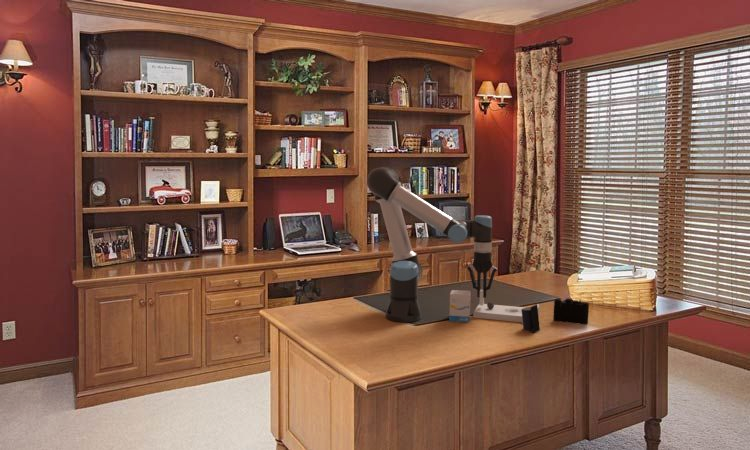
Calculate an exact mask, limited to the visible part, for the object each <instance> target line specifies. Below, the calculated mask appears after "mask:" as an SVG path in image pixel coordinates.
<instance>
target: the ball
mask: <svg viewBox="0 0 750 450" xmlns="http://www.w3.org/2000/svg"><path fill="white" fill-rule="evenodd" d="M486 304H487V307H488V308H489V309H492V308H493V307H494V305H495V303H494V302H493V301H489V302H487V303H486Z"/></svg>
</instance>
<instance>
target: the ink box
mask: <svg viewBox="0 0 750 450" xmlns="http://www.w3.org/2000/svg"><path fill="white" fill-rule="evenodd" d="M471 293H472V291H471V290H463V289H462V290H461V289H456V290H455V289H451V290H450V293H449V314H448V319H449V320H448V321H449V322H458V323H470V317H471V301H472V299H471V296H472V295H471Z"/></svg>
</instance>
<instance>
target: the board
mask: <svg viewBox="0 0 750 450" xmlns="http://www.w3.org/2000/svg"><path fill="white" fill-rule="evenodd" d="M487 304H488V303H484V305H483V306H481V305H480V303H478V305H477V306H476V308H475V309H474V310H473V316H472V317H473V318H474V319H483V320H484V319H486V320H493V321H494V320H497V321H507V322H516V323H523V320H522V310H521V309H523V308H526V307H525V306H524V307H523V306H515V305H514V306H513V305H512V306H511V305H500V304H494V307H493V308H492V309H489V308H488V307H487ZM536 305H537V308H538V317H539V316H540V306H541V305H540V304H539V303H537V304H536Z"/></svg>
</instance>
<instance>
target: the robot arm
mask: <svg viewBox="0 0 750 450" xmlns="http://www.w3.org/2000/svg"><path fill="white" fill-rule="evenodd" d="M366 186H367V188H368V190H369V191H370V192H371V193H372V194H373V195H374V200H375V202H376V203H378V204H379V205H380V209H381V213H382V216H383V220H384V221H383V222H384V225H385V227H386V228H385V229H386V231H387V235H388V239H389V243H390V247H391V250H392V254H393V256H392V258H391V265H390V269H389V276H390V277H389V302H388V304H387V308H386V310H385V319H387V320H388V321H392V322H398V323H412V322H418V321H420V320H421V319H422V311H421V307H420V304H419V300H418V294H419V293H418V288H419V287H418V286H419V285H418V284H419V283H420V280H421V279H422V277H423V271H424V270H423V267H422V266H423V265H421V263H420V262H419V257H418V253H417V252H415V251H413V248H412V245H411V239H410V237H409V233H408V229H407V226H406V221H405V218H404V214H403V210H405V211H406V212H408V213H410V214H411V215H412V216H415V217H416V218H418V220H419V219H420V220H421V221H423V222H424V223H426V224H427V225H429V226H430V227H432V228H433V229H435V230H437V231H438V232H440V233H441V234H443V235H444V236H446V237H448V238H449V240H450V241H451V242H453V243H455V244H460V243H462V242H464V241H465V240H466V239H467V238H473V251H474V252H473V262H472V264H471V265H469V266H467V270H468V272H469V276H470V279H471V284H472V285H471V286H472V288H473V289H475V290H476V294H477V295H476V297H477V298H479V304H480V305H481V306H483V305H484V304H485V299H486V298H487V291H488V290H491V288H492V285H493V282H494V279H495V274H496V273H497V270H498V267H496V266H494V265H493V262H492V252H491V251H493V250H492V249H493V245H492V244H493V241H492V240H493V218H492V216H490V215H485V214H484V215H478V214H477V215H475V216H474V219H472V220H468V219H467V220H464V219H454V218H453V217H452V216H449V215H448V214H446V213H445V212H443V211H442V210H440V209H438V207H436V206H434V205H432V204H431V203H429V202H428V201H426V200H425V199H423V198H421V197H419V196H418V195H416V194H415V193H413V192H412V191H410V190H409V189H407V188H406V187H404V186H403V185H402V183H401V181H400V180H399V175H398V173H397V172H396V171H395V170H394V169H393V168H391V167H388V166H381V167H377V168H374V169H372V170H371V171H370V172H369V174H368V175H367V179H366ZM402 209H403V210H402ZM474 270H475V271H476V273H477V275H476V276H477V277H475V273H474ZM489 271H491V273H490V276H489V281H488V273H489ZM482 274H483V275H482ZM482 276H483V277H482ZM476 278H477V279H476ZM482 278H483V282H482ZM476 280H477V282H476ZM482 283H483V284H482ZM482 287H483V288H482ZM481 288H482V289H481Z"/></svg>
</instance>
